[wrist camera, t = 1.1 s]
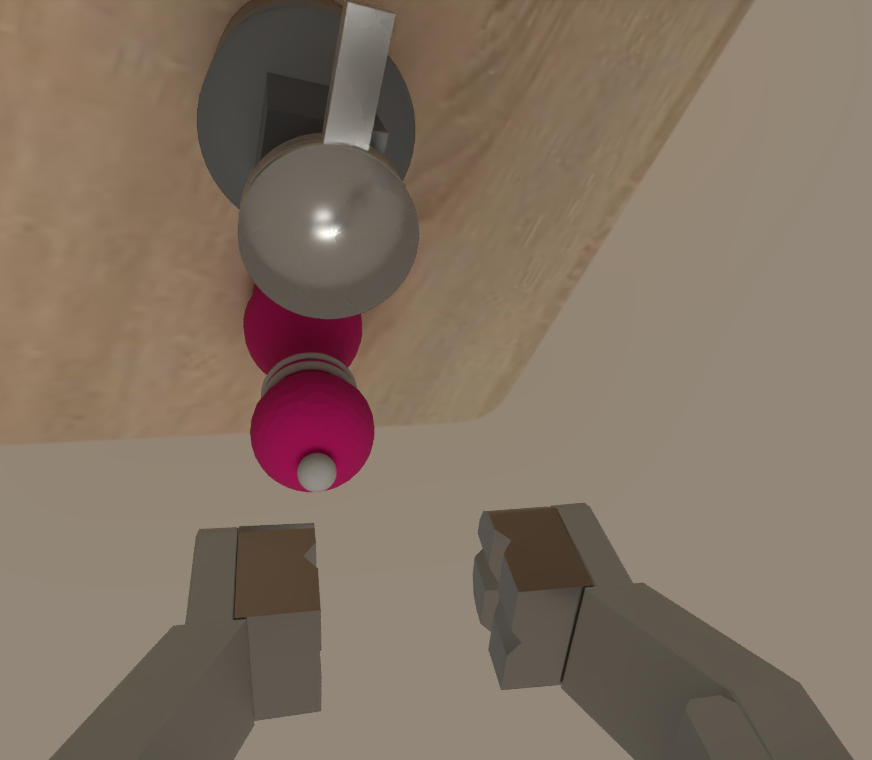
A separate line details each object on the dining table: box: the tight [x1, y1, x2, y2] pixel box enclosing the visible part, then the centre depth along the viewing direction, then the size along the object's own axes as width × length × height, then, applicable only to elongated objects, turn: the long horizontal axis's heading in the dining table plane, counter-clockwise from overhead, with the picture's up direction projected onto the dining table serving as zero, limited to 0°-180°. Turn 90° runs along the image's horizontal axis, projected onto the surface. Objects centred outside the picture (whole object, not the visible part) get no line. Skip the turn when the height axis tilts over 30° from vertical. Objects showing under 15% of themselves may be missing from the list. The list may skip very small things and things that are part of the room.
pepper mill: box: [243, 284, 374, 492], centre depth 42 cm, size 7×7×20 cm
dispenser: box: [197, 0, 415, 209], centre depth 35 cm, size 9×9×21 cm
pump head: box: [238, 0, 419, 319], centre depth 24 cm, size 8×5×9 cm, turn 166°
